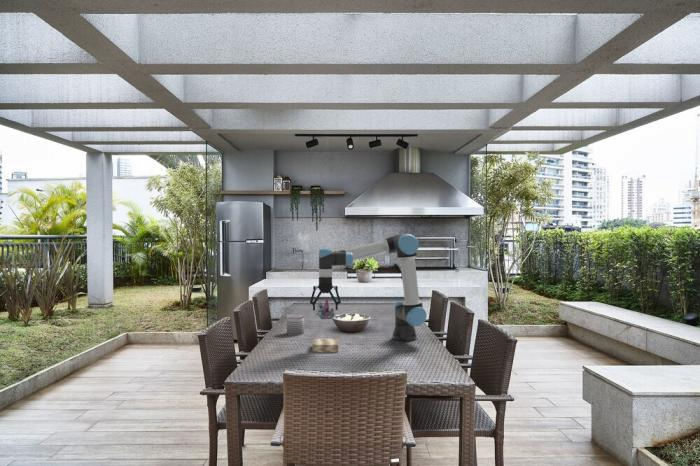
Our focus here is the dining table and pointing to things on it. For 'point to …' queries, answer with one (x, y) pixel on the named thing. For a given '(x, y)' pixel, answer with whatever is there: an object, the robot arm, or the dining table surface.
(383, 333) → the dining table surface
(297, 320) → the can
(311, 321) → the dining table surface
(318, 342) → the oak riser
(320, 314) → the spiky succulent plant
